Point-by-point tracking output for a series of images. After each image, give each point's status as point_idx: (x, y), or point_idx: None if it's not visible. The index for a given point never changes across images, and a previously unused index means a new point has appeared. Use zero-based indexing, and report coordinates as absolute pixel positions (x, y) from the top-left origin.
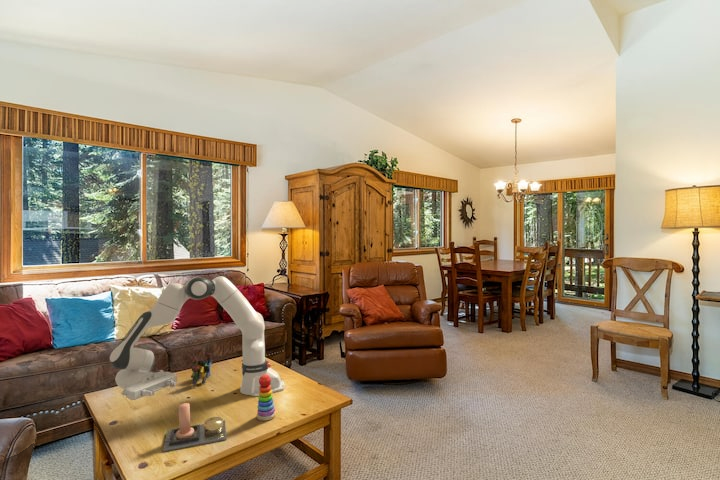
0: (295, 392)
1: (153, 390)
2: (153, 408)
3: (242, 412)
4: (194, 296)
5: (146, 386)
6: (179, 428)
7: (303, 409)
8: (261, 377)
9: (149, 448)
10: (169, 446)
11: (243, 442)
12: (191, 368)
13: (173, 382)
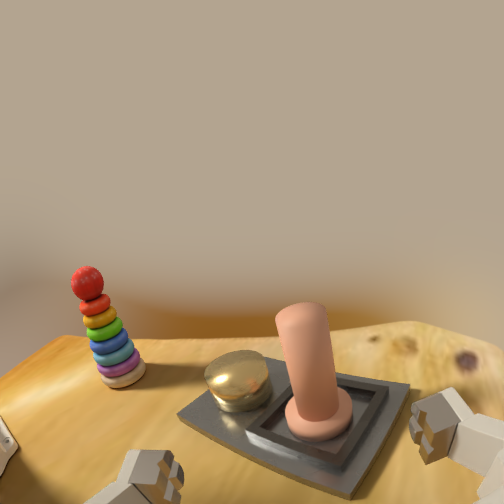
0: (15, 393)
1: (419, 407)
2: None
3: (107, 426)
4: None
5: (496, 502)
6: (336, 395)
7: (89, 352)
8: (90, 269)
9: None
10: (390, 386)
11: (243, 338)
12: None
13: (141, 452)
